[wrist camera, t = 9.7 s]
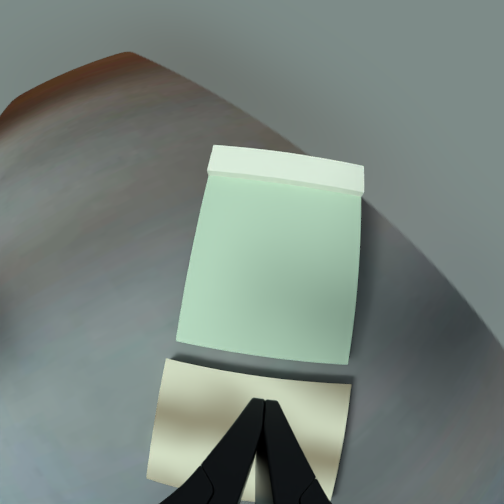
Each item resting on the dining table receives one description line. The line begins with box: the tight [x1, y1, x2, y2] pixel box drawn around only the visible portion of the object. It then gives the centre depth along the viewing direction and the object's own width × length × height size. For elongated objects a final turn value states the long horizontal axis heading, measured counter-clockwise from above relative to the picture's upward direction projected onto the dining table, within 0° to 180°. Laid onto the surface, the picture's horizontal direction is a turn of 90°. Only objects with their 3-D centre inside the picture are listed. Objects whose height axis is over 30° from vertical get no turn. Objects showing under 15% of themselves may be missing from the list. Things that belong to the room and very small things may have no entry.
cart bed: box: [147, 359, 351, 502], centre depth 16 cm, size 10×13×1 cm
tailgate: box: [176, 145, 364, 365], centre depth 20 cm, size 2×12×15 cm
